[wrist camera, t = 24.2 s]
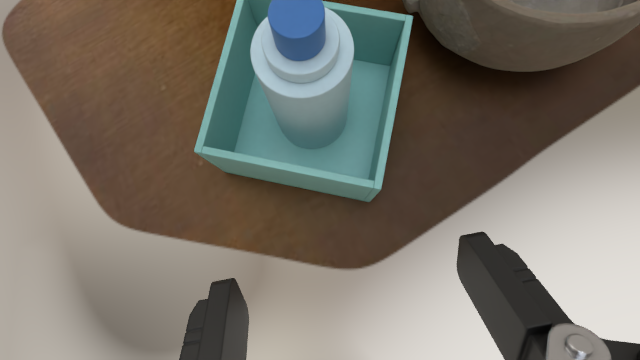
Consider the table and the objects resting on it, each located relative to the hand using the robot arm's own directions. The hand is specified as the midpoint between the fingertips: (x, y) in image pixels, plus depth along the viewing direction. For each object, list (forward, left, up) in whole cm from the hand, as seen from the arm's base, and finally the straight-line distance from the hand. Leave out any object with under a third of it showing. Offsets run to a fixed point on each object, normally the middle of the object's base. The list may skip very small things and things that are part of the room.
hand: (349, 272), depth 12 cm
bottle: (-2, +11, -14) cm, 18 cm away
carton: (-2, +11, -15) cm, 19 cm away
